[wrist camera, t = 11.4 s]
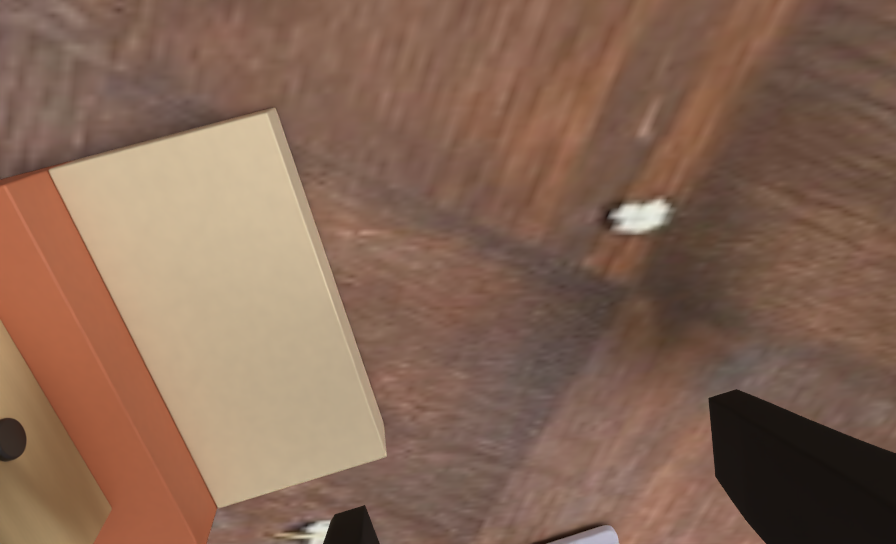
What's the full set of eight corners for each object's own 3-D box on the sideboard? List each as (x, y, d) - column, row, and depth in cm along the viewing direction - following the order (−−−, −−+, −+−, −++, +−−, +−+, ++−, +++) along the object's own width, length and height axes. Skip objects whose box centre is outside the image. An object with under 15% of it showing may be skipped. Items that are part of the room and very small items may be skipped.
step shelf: (384, 424, 22) (395, 546, 16) (-99, 570, 21) (-264, 755, 15) (275, 106, 18) (240, 125, 12) (-342, 269, 16) (-695, 374, 11)
